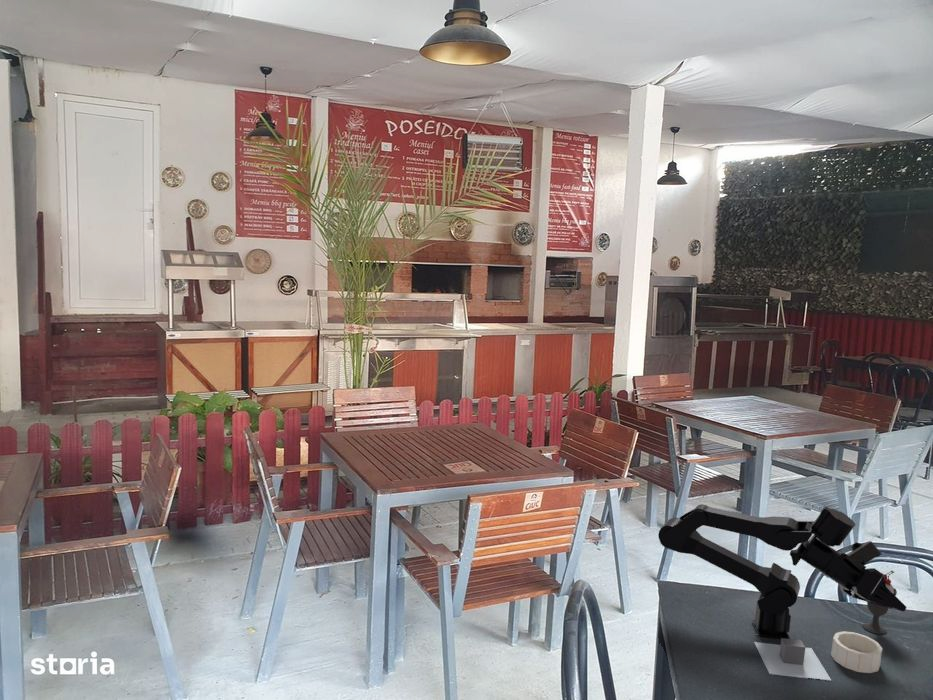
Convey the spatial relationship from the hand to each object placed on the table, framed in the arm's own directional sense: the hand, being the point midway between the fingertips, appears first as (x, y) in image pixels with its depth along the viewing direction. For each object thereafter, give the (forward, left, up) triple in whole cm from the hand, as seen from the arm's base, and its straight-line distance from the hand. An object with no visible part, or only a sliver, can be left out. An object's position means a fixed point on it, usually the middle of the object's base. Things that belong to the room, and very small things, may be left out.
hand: (899, 608), depth 153 cm
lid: (-21, -3, -14) cm, 25 cm away
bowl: (-7, 0, -13) cm, 15 cm away
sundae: (+3, +15, -13) cm, 20 cm away
